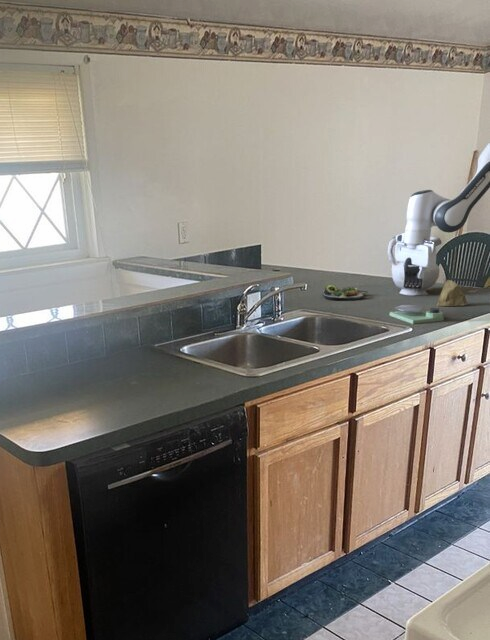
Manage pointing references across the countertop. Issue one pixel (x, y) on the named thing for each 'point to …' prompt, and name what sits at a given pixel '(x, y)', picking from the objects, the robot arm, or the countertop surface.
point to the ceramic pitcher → (398, 276)
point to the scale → (418, 316)
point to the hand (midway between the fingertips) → (412, 276)
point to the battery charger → (412, 275)
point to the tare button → (434, 310)
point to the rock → (451, 295)
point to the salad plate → (342, 293)
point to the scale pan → (409, 308)
